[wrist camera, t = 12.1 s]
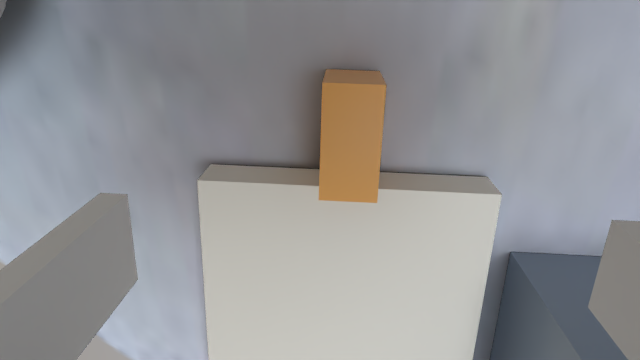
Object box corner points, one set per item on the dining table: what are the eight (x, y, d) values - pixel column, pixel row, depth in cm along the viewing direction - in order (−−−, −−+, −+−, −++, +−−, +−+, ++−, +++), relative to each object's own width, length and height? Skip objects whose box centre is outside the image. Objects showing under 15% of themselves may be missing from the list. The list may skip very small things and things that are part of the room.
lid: (205, 64, 27) (177, 76, 23) (504, 75, 26) (536, 90, 22) (222, 380, 35) (203, 435, 31) (451, 394, 34) (467, 453, 30)
